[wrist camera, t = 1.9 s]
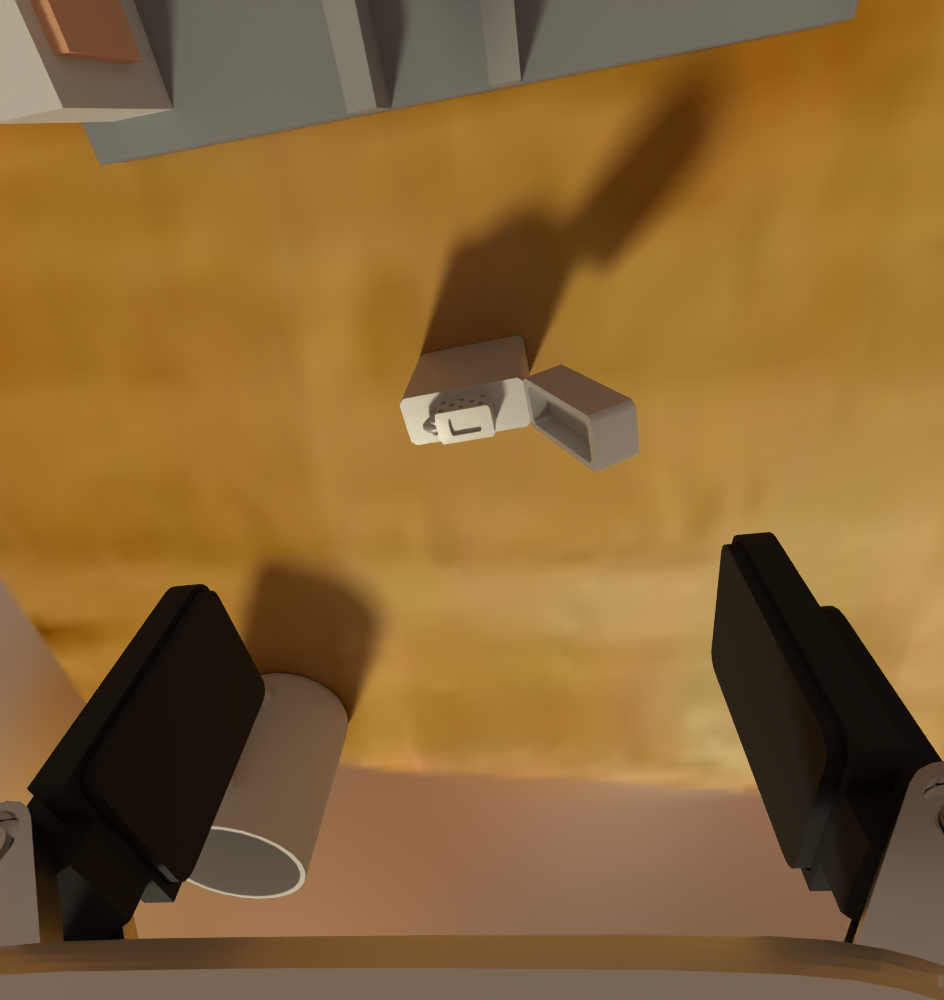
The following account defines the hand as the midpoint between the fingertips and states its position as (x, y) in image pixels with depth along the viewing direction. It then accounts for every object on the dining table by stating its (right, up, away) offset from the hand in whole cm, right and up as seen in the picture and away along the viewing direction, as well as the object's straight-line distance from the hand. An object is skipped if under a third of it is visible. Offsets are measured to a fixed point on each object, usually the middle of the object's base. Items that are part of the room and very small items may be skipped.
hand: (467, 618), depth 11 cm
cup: (-11, -9, +24) cm, 28 cm away
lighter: (+2, +8, +12) cm, 14 cm away
